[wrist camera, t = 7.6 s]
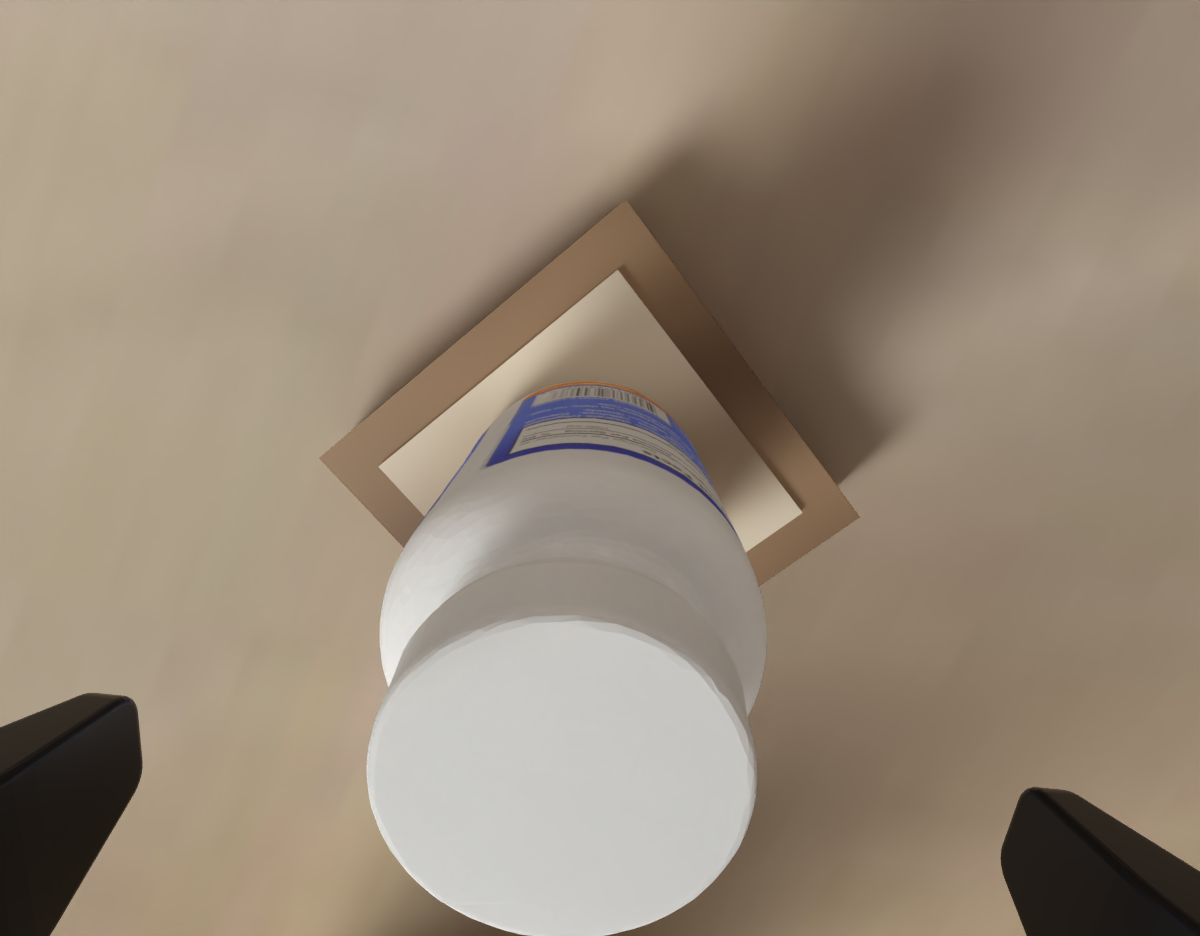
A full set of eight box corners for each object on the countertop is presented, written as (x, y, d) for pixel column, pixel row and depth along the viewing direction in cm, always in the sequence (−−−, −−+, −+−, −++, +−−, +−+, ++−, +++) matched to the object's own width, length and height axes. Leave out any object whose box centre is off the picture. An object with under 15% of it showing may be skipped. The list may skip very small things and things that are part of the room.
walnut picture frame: (833, 489, 19) (862, 519, 17) (569, 674, 20) (565, 722, 18) (622, 205, 17) (626, 198, 14) (349, 436, 18) (316, 460, 16)
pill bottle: (574, 635, 17) (540, 1072, 8) (420, 477, 16) (175, 775, 7) (750, 502, 16) (941, 828, 7) (600, 322, 15) (592, 429, 6)
